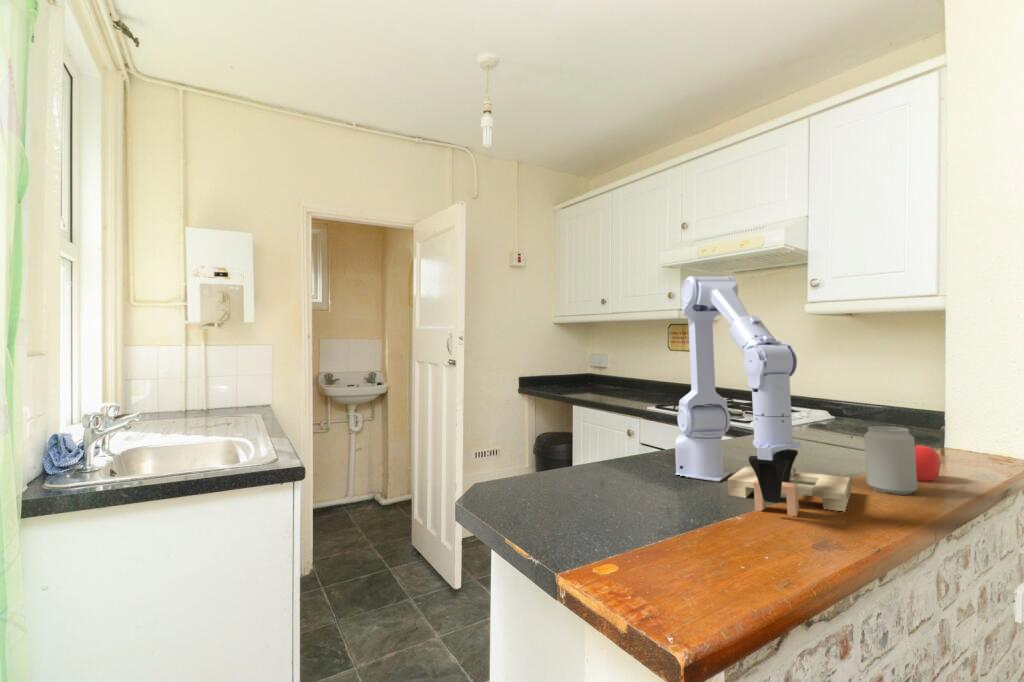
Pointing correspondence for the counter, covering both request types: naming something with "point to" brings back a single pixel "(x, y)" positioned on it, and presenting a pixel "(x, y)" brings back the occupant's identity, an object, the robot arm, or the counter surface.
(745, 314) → the robot arm
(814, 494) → the wooden slotted stand
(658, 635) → the counter surface
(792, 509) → the pink arch
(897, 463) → the can
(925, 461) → the apple
